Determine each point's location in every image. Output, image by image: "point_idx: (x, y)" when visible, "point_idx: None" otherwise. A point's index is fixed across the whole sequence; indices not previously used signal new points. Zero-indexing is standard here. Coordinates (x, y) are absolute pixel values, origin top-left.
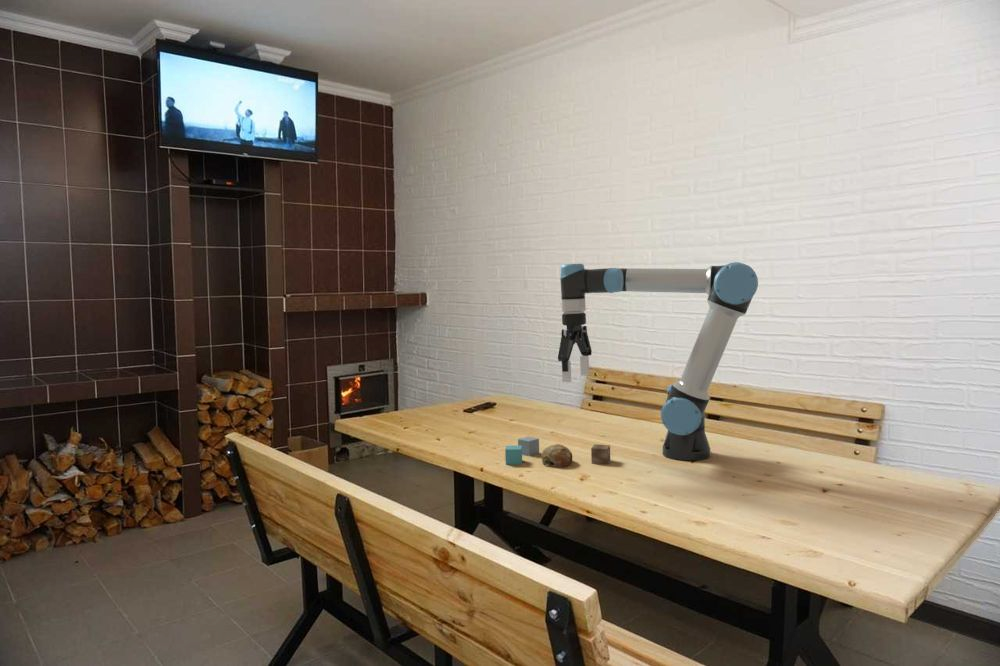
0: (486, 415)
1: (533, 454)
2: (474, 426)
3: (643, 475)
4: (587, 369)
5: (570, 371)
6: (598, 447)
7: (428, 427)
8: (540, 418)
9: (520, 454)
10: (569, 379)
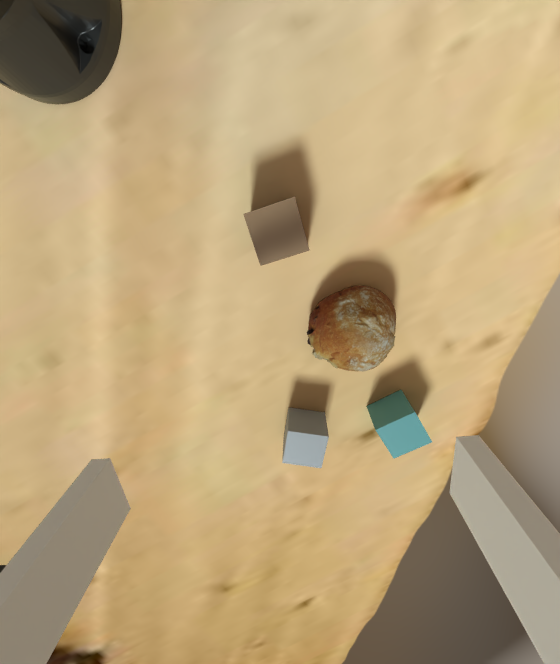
0: (95, 626)
1: (309, 410)
2: (182, 603)
3: (351, 17)
4: (76, 511)
5: (537, 525)
6: (290, 233)
7: (241, 651)
8: None
9: (410, 405)
10: (492, 458)
